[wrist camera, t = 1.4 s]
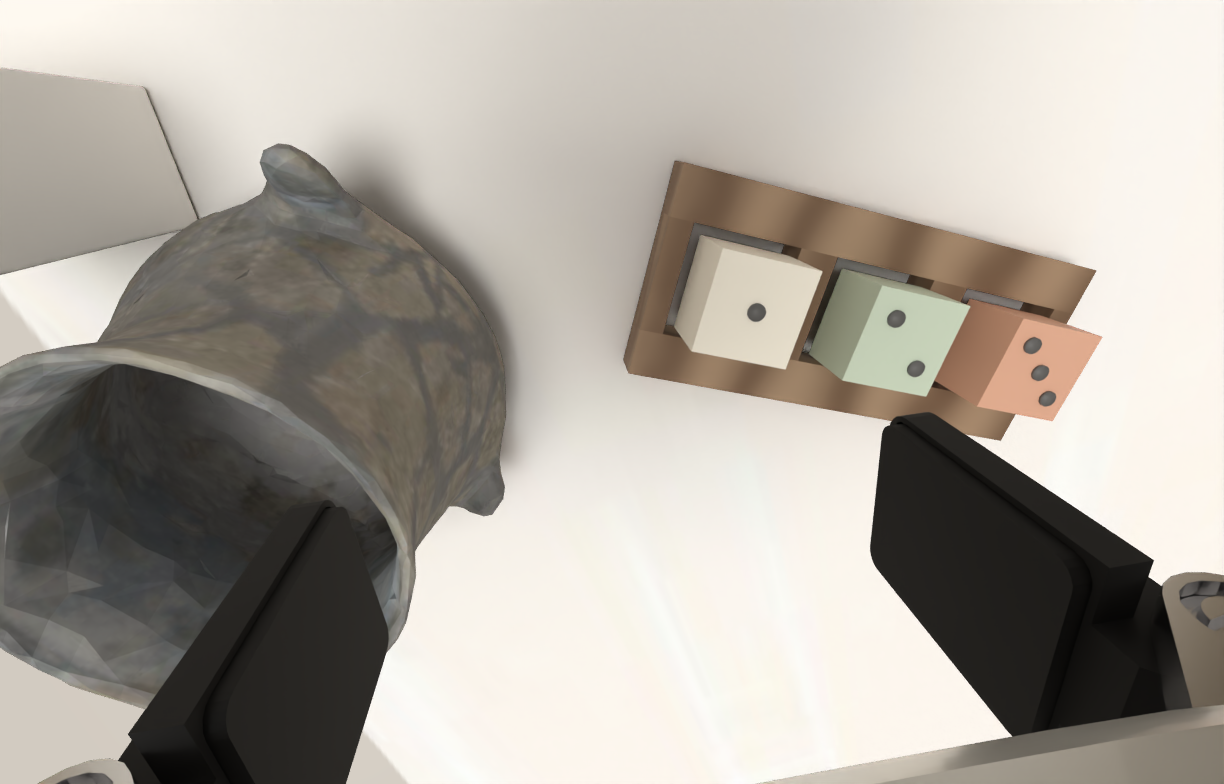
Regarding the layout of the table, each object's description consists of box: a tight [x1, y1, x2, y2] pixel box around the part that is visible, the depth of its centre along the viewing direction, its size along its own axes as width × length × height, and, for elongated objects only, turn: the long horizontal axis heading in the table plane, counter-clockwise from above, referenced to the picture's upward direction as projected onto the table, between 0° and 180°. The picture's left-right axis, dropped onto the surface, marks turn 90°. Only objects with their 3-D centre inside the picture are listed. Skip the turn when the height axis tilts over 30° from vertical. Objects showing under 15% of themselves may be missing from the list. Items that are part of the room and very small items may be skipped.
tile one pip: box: [674, 235, 823, 370], centre depth 33 cm, size 6×6×5 cm
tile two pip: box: [809, 268, 970, 397], centre depth 35 cm, size 6×6×5 cm
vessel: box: [0, 144, 506, 709], centre depth 28 cm, size 22×22×20 cm
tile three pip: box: [934, 299, 1102, 421], centre depth 37 cm, size 6×6×5 cm
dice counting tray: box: [623, 161, 1096, 441], centre depth 38 cm, size 29×13×2 cm, turn 77°
